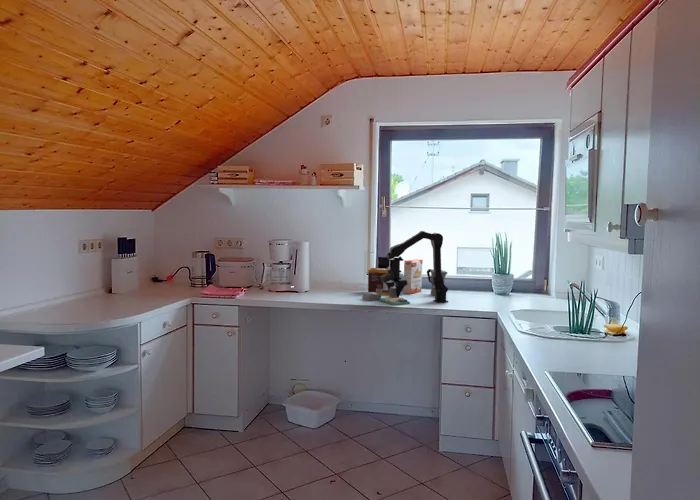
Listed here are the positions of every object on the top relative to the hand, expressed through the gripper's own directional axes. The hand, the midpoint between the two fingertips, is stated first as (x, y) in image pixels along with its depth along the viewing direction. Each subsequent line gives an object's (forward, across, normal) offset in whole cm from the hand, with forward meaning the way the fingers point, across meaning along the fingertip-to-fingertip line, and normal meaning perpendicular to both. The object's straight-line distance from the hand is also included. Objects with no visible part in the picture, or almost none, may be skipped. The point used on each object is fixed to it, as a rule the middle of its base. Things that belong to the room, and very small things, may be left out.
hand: (394, 295), depth 288 cm
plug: (+3, 0, 0) cm, 3 cm away
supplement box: (+4, -28, +7) cm, 29 cm away
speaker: (+4, -12, -8) cm, 15 cm away
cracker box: (+4, -23, +28) cm, 36 cm away
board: (+4, 0, 0) cm, 4 cm away
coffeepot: (+4, -10, +37) cm, 39 cm away
